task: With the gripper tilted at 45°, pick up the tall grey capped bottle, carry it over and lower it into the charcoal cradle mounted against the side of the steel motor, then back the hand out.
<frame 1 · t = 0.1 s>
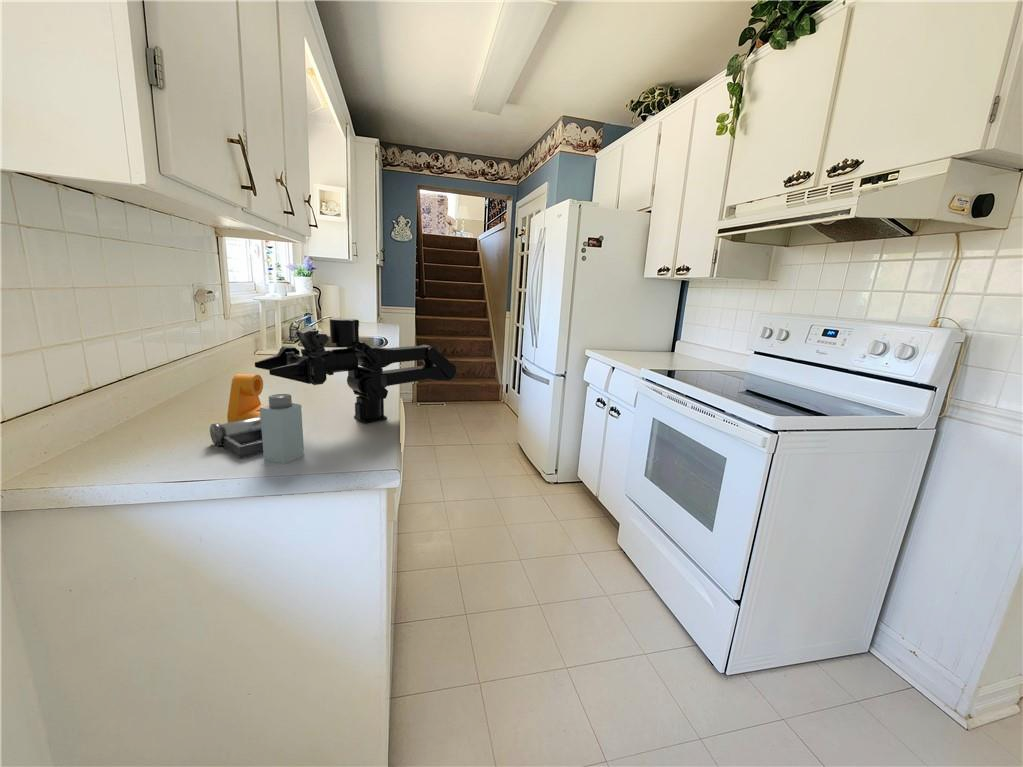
hand: (262, 368, 92), 17 cm above the countertop, tool horizontal, fingers open, 9 cm apart
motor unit: (253, 447, 91), on the countertop
grey capped bottle: (284, 456, 87), on the countertop
bracket: (256, 421, 108), on the countertop
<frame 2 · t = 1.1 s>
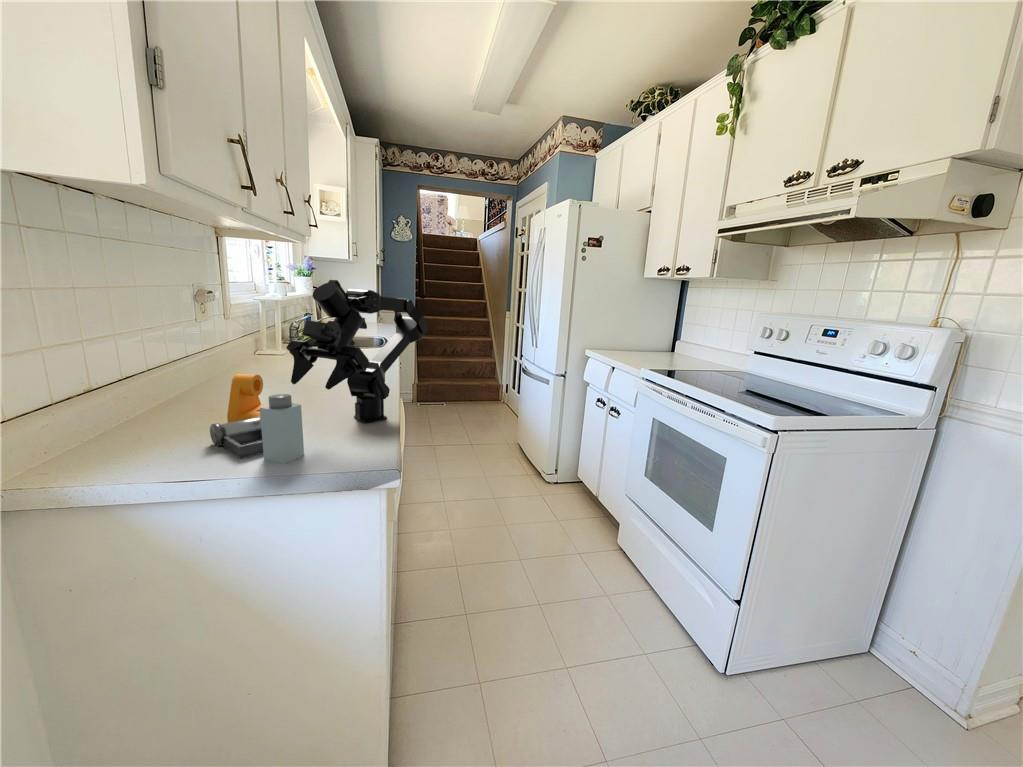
hand: (309, 385, 91), 13 cm above the countertop, tool tilted 45°, fingers open, 9 cm apart
nothing on the countertop moved.
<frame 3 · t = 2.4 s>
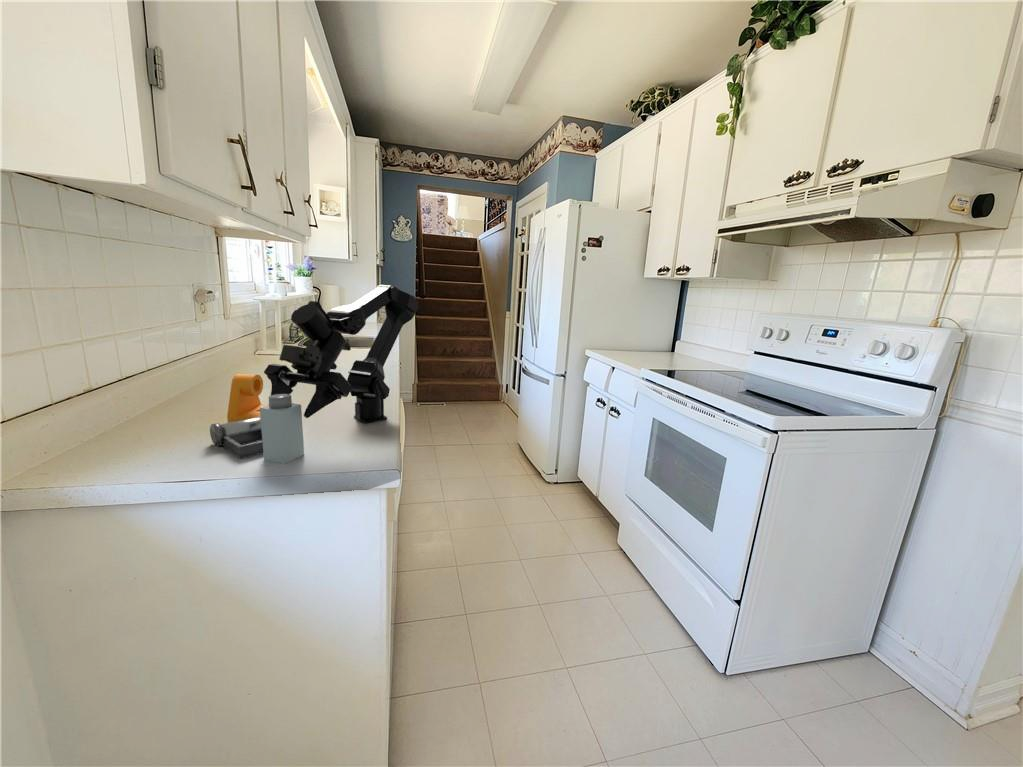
hand: (287, 413, 86), 9 cm above the countertop, tool tilted 45°, fingers open, 9 cm apart
nothing on the countertop moved.
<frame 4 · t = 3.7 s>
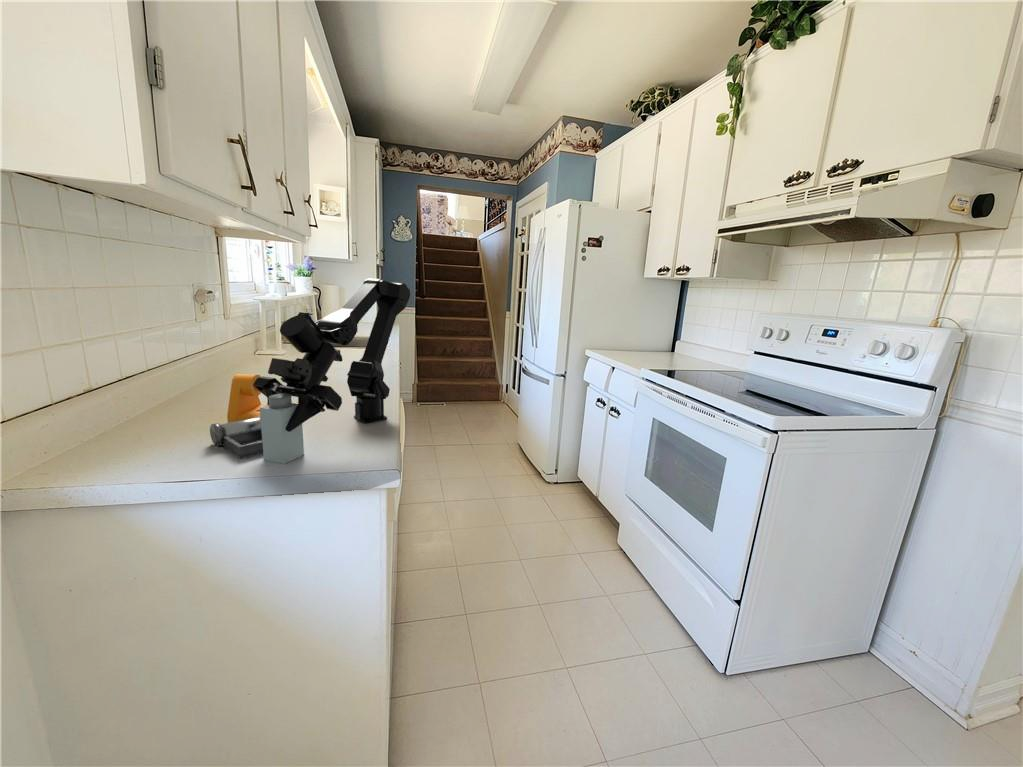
hand: (276, 428, 84), 7 cm above the countertop, tool tilted 45°, fingers closed on grey capped bottle, 5 cm apart
grey capped bottle: (284, 456, 87), on the countertop, touching gripper
everything else where it was.
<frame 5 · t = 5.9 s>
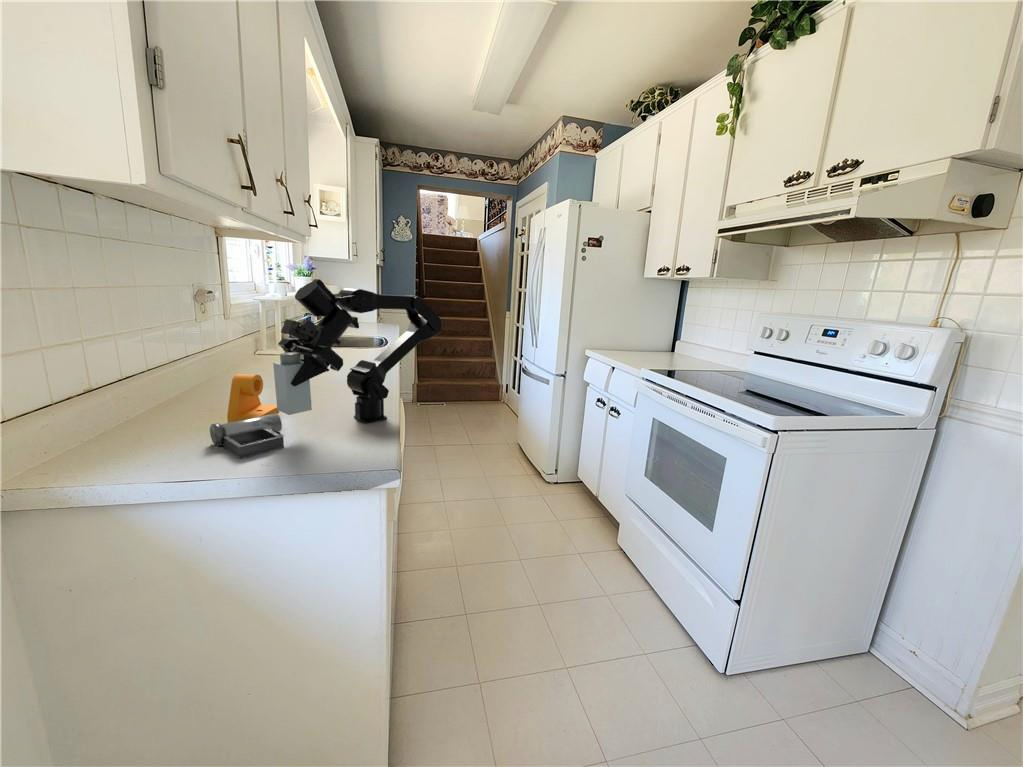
hand: (286, 383, 93), 13 cm above the countertop, tool tilted 45°, fingers closed on grey capped bottle, 5 cm apart
grey capped bottle: (294, 409, 96), point 7 cm above the countertop, touching gripper
everything else where it was.
when the fingers open (8 cm above the countertop, at t = 8.2 s): grey capped bottle drops 2 cm, resting in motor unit.
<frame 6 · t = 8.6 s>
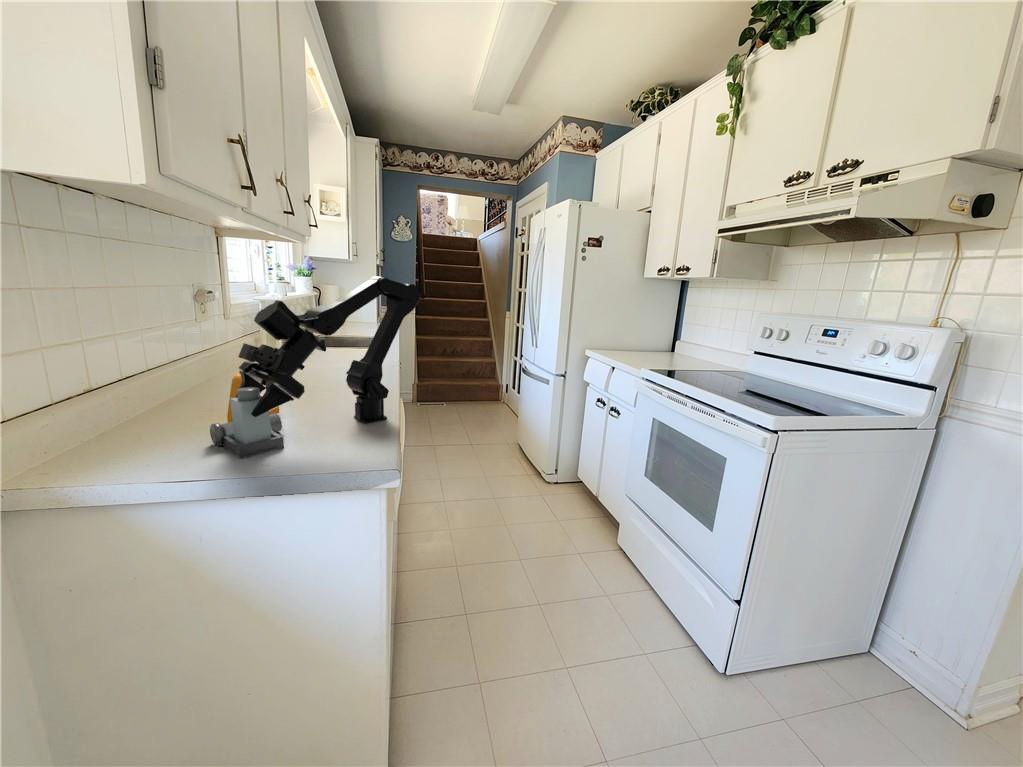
hand: (243, 410, 88), 9 cm above the countertop, tool tilted 45°, fingers open, 9 cm apart
grey capped bottle: (253, 447, 91), resting in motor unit
everything else where it was.
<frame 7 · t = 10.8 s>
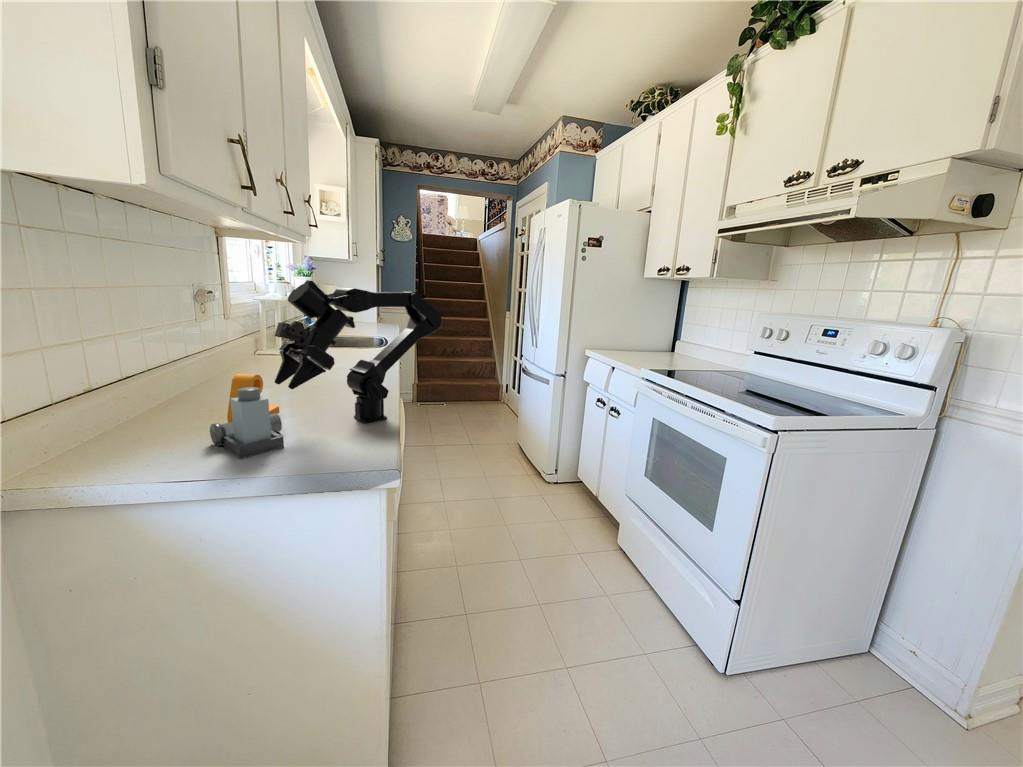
hand: (283, 385, 94), 12 cm above the countertop, tool tilted 40°, fingers open, 9 cm apart
nothing on the countertop moved.
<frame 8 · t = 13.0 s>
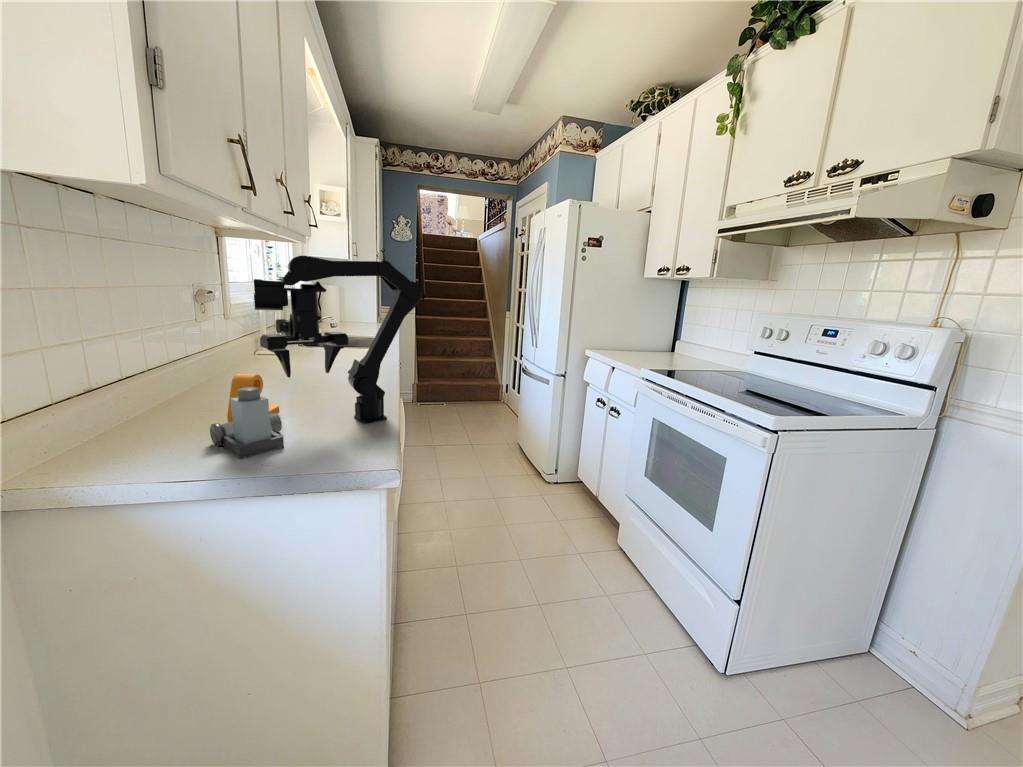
hand: (308, 374, 103), 13 cm above the countertop, tool pointing down, fingers open, 9 cm apart
nothing on the countertop moved.
at the end: grey capped bottle 0.1 cm off-centre on the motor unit, point 0.0 cm above the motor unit's base; grey capped bottle tilted 0°; the gripper is holding nothing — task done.
